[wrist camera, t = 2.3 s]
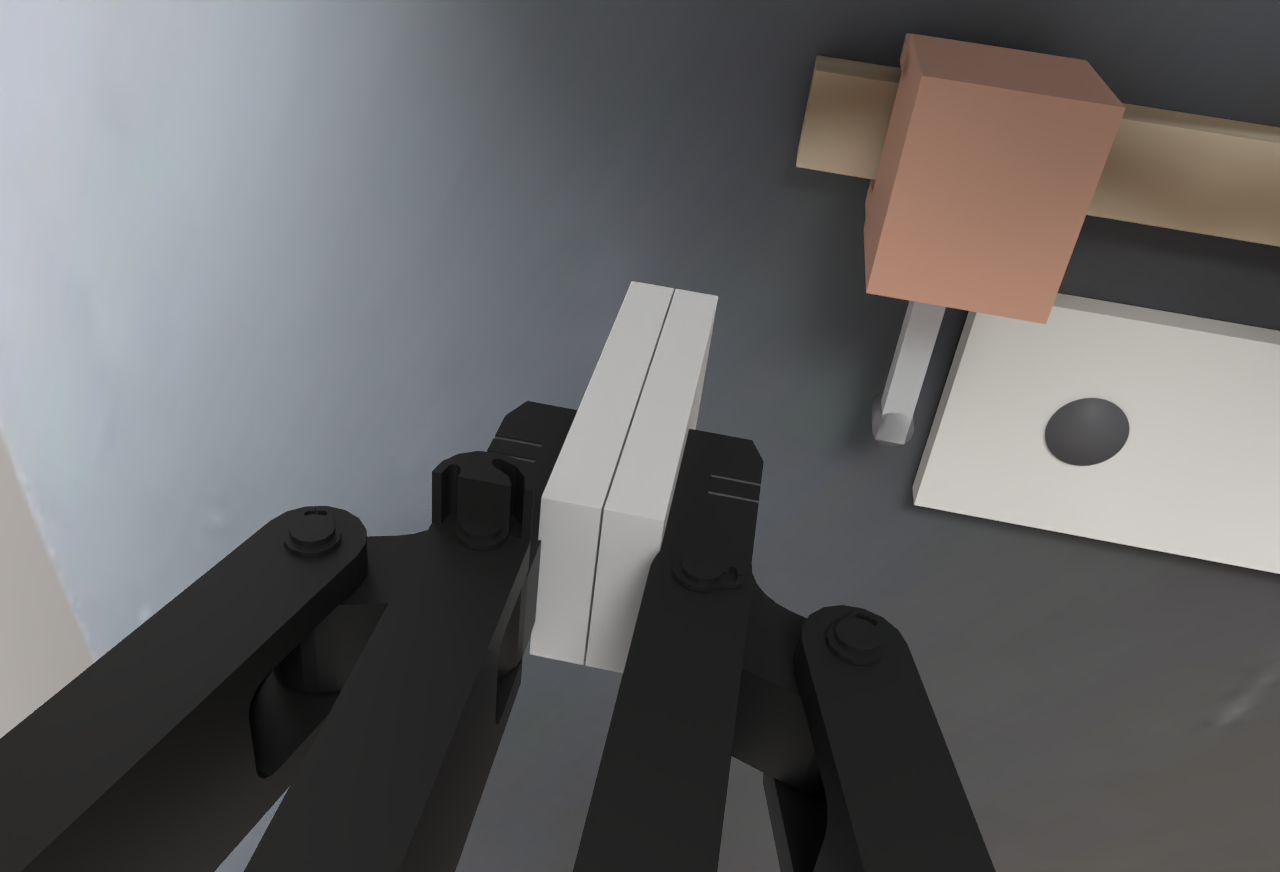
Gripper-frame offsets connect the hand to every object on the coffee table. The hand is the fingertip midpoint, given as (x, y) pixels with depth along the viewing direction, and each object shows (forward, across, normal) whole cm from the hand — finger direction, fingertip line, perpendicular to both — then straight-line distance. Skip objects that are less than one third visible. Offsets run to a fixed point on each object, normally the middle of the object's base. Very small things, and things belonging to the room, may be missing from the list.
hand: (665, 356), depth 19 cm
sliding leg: (+18, +7, -4) cm, 19 cm away
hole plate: (+18, +20, -9) cm, 29 cm away
